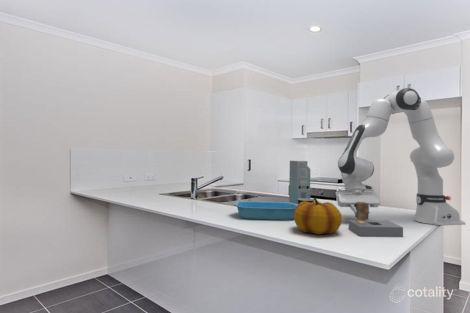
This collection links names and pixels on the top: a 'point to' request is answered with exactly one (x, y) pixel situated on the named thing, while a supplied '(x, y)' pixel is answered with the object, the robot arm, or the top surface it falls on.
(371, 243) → the top surface
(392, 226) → the socket block
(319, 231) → the decorative pumpkin
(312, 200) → the coffee mug
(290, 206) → the casserole dish
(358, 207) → the walnut plug
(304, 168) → the device
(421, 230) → the top surface
